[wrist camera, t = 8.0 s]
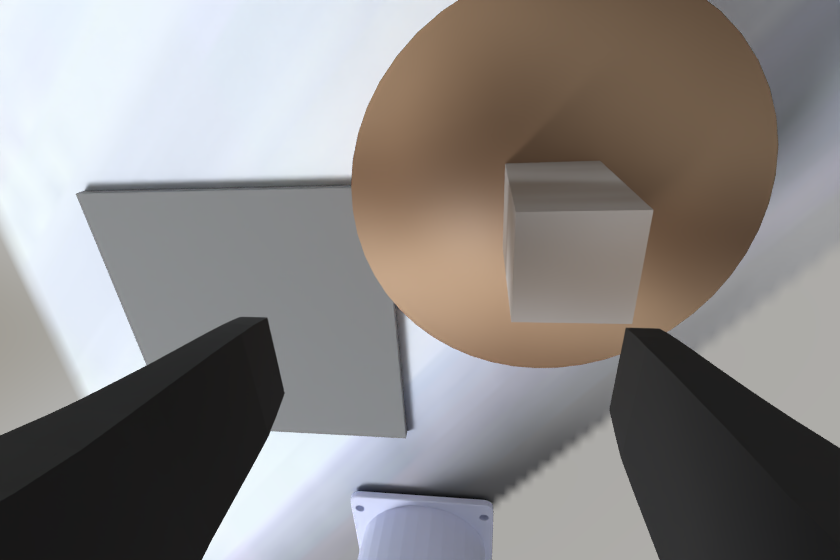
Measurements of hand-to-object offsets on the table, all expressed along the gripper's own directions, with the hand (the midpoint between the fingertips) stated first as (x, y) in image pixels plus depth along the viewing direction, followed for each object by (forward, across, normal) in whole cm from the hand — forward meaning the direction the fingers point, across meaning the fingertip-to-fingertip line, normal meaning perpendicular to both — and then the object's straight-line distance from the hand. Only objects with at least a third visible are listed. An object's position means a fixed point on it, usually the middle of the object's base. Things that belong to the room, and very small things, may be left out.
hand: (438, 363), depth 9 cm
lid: (+5, -3, -2) cm, 6 cm away
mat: (+9, +9, +5) cm, 14 cm away
